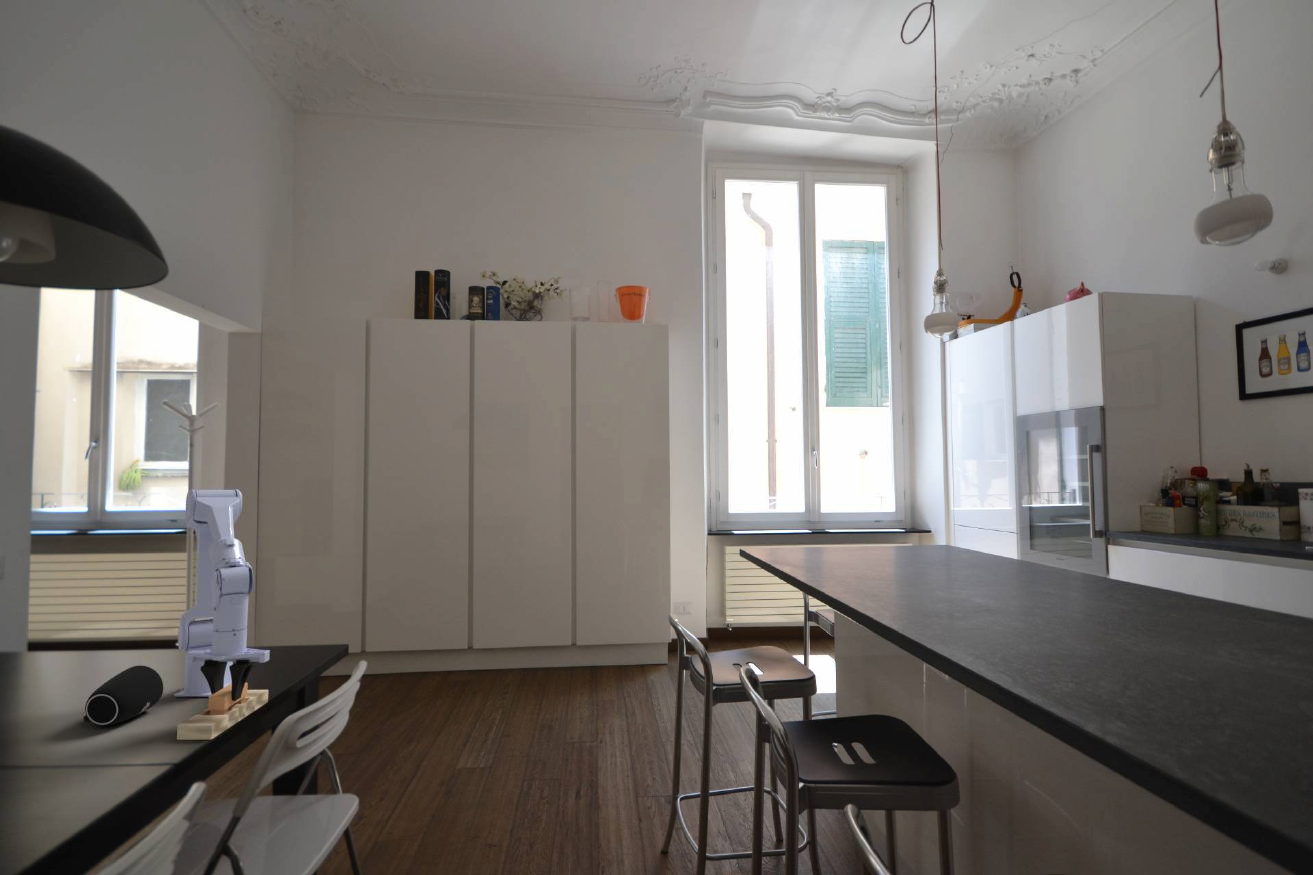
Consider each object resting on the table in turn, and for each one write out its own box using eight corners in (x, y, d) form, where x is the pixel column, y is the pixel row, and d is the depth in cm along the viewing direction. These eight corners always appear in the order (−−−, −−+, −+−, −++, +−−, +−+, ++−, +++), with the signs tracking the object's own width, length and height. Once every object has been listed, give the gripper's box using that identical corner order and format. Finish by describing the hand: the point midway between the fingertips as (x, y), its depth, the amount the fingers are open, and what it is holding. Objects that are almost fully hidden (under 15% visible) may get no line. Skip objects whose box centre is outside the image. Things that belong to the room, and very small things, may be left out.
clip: (231, 710, 137) (232, 682, 137) (246, 710, 137) (247, 682, 137) (207, 726, 129) (208, 696, 129) (224, 725, 129) (225, 696, 129)
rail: (238, 701, 142) (238, 689, 142) (267, 701, 142) (268, 689, 143) (176, 739, 122) (177, 725, 122) (211, 739, 123) (212, 725, 123)
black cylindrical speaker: (136, 717, 127) (172, 694, 137) (110, 676, 126) (148, 656, 136) (79, 749, 126) (120, 724, 136) (53, 709, 126) (95, 686, 136)
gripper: (178, 633, 129) (174, 706, 128) (257, 633, 130) (254, 705, 129) (201, 625, 136) (197, 694, 135) (276, 625, 137) (273, 693, 136)
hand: (226, 699), depth 133 cm, fingers closed on clip, 3 cm apart
